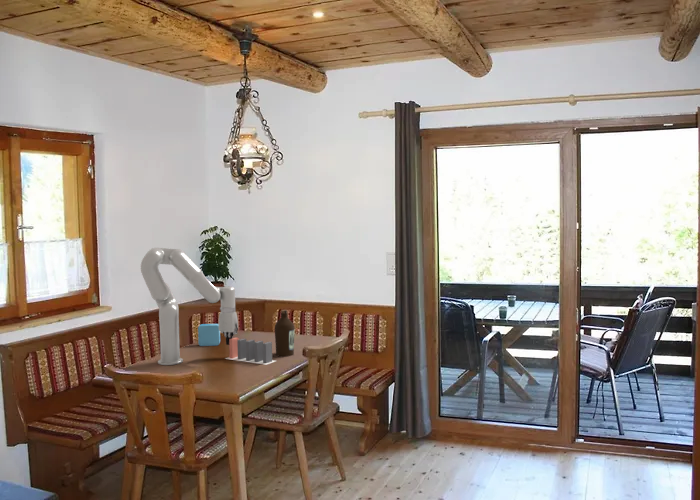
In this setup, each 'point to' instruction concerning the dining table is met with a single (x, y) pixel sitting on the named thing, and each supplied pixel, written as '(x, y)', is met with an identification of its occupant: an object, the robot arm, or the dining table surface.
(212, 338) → the light blue square slab
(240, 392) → the dining table surface
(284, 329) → the olive oil
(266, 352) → the domino
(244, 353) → the domino
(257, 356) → the domino
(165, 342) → the robot arm
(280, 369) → the dining table surface
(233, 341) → the red domino
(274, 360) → the board
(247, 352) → the domino
